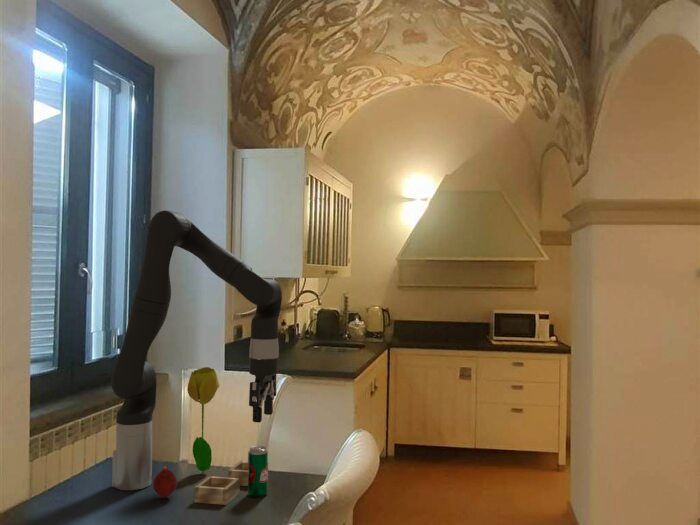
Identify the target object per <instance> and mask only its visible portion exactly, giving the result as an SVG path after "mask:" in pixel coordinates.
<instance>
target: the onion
mask: <svg viewBox="0 0 700 525" xmlns="http://www.w3.org/2000/svg"><path fill="white" fill-rule="evenodd" d="M152 485H153V486H152V487H153V490H154V491H155V493H156V494H157V495H158V496H160V497H161V498H163V499H166V498H168V497H169V496H171V495H172V494H173V493H174V492H175V490H176V489H177V487H178V480H177V477H176V474H174V472H173V471H172V470H170V469H169V468H167V466H166V465H164V466H163V468H162V470H161V471H159V473H157V475H156V476H155V477H154V480H153V484H152Z"/></svg>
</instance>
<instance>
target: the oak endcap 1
mask: <svg viewBox="0 0 700 525" xmlns="http://www.w3.org/2000/svg"><path fill="white" fill-rule="evenodd" d="M240 486H241V485H240V478H228V476H227V477H225V476H210V475H209V476H208V477H206V478H205V479H204V480H202V481H201V482H200V483H198V484H197V485H195V486H194V503H198V504H213V505H224V506H227V505H228V504H229V503H231V501H233V500H234V499H235V498H236V497H237V496H238V495H240V490H241V489H240V488H241V487H240Z"/></svg>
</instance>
